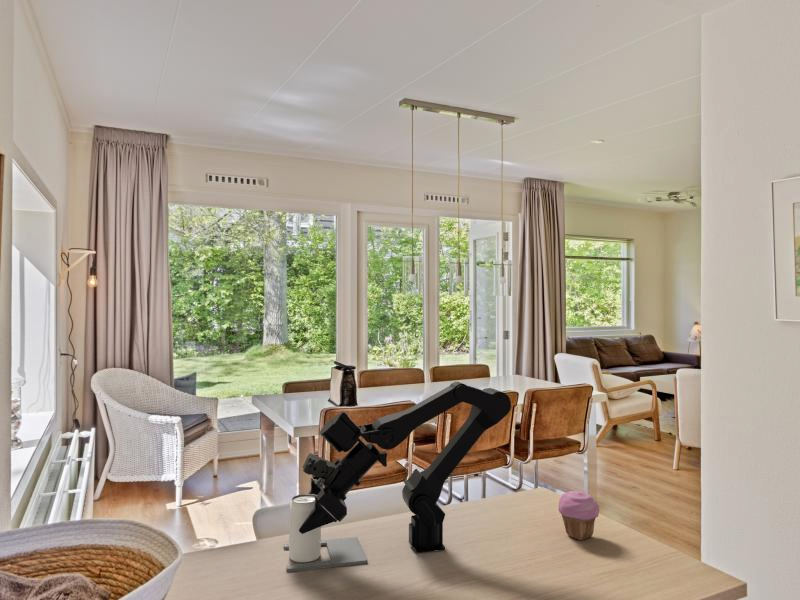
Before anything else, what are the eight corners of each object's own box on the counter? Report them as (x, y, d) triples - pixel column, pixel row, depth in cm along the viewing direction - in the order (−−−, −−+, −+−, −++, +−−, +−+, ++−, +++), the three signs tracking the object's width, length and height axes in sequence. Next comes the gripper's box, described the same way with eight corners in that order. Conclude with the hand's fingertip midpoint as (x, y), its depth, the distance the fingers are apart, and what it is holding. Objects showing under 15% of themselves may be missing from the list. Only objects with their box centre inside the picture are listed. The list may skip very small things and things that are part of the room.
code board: (357, 539, 124) (357, 536, 125) (367, 563, 113) (367, 560, 113) (283, 546, 120) (283, 543, 120) (286, 572, 109) (286, 568, 109)
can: (314, 565, 112) (314, 504, 112) (283, 562, 113) (284, 502, 113) (325, 551, 118) (325, 494, 118) (296, 548, 120) (296, 492, 120)
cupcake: (583, 547, 121) (583, 501, 121) (550, 535, 128) (550, 490, 128) (606, 537, 126) (606, 492, 127) (573, 525, 133) (573, 483, 133)
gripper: (322, 431, 126) (271, 483, 124) (330, 451, 108) (271, 513, 105) (356, 464, 128) (307, 517, 125) (370, 490, 109) (312, 552, 107)
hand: (299, 523), depth 116 cm, fingers open, 9 cm apart
